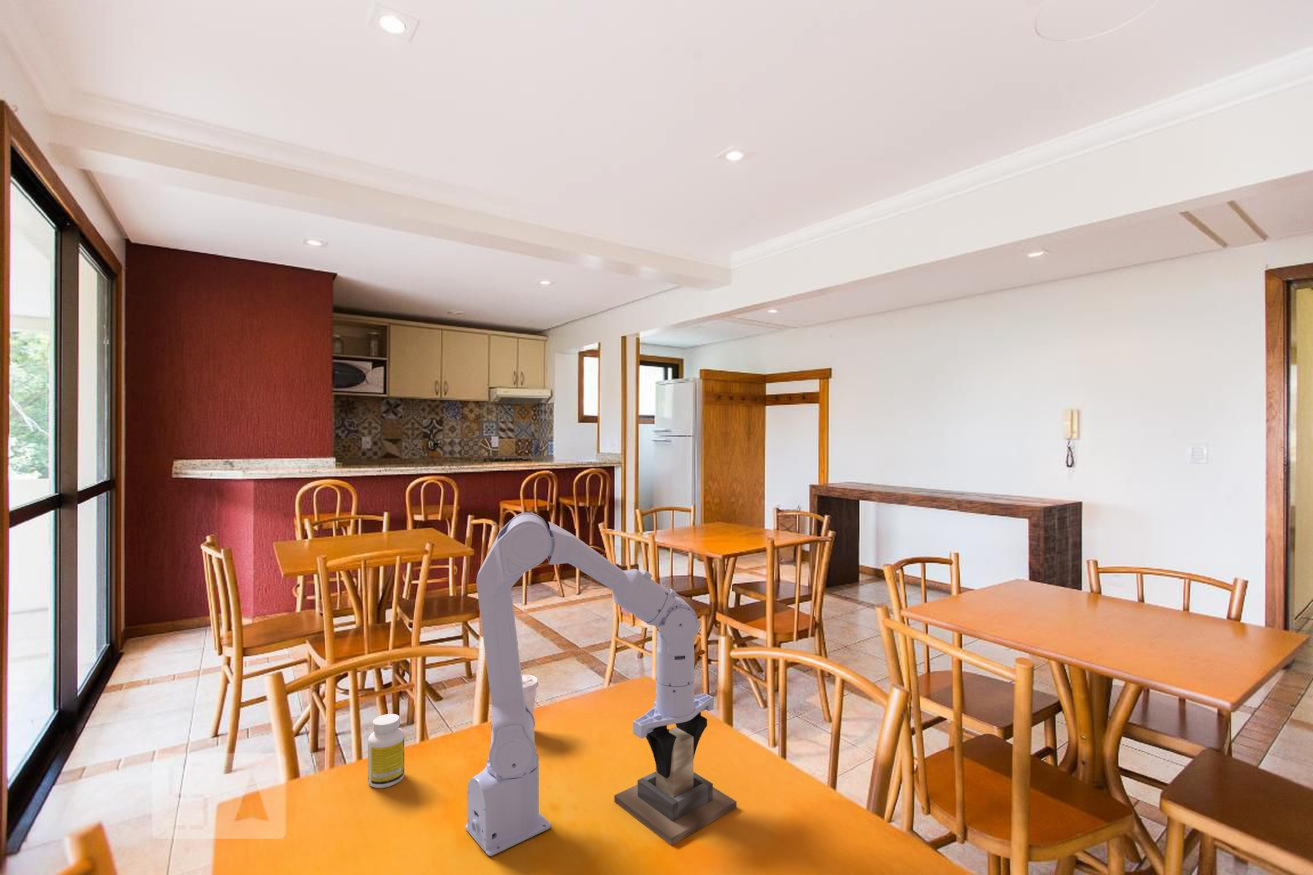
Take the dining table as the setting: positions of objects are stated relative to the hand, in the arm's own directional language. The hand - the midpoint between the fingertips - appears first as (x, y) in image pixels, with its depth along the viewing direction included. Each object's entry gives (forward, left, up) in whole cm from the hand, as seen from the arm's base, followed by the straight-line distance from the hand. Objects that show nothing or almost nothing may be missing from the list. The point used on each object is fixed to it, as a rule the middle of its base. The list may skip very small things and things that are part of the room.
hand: (674, 769), depth 94 cm
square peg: (0, 0, -3) cm, 3 cm away
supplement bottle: (-31, +35, -6) cm, 47 cm away
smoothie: (-7, +35, -6) cm, 36 cm away
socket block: (0, 0, -5) cm, 5 cm away
